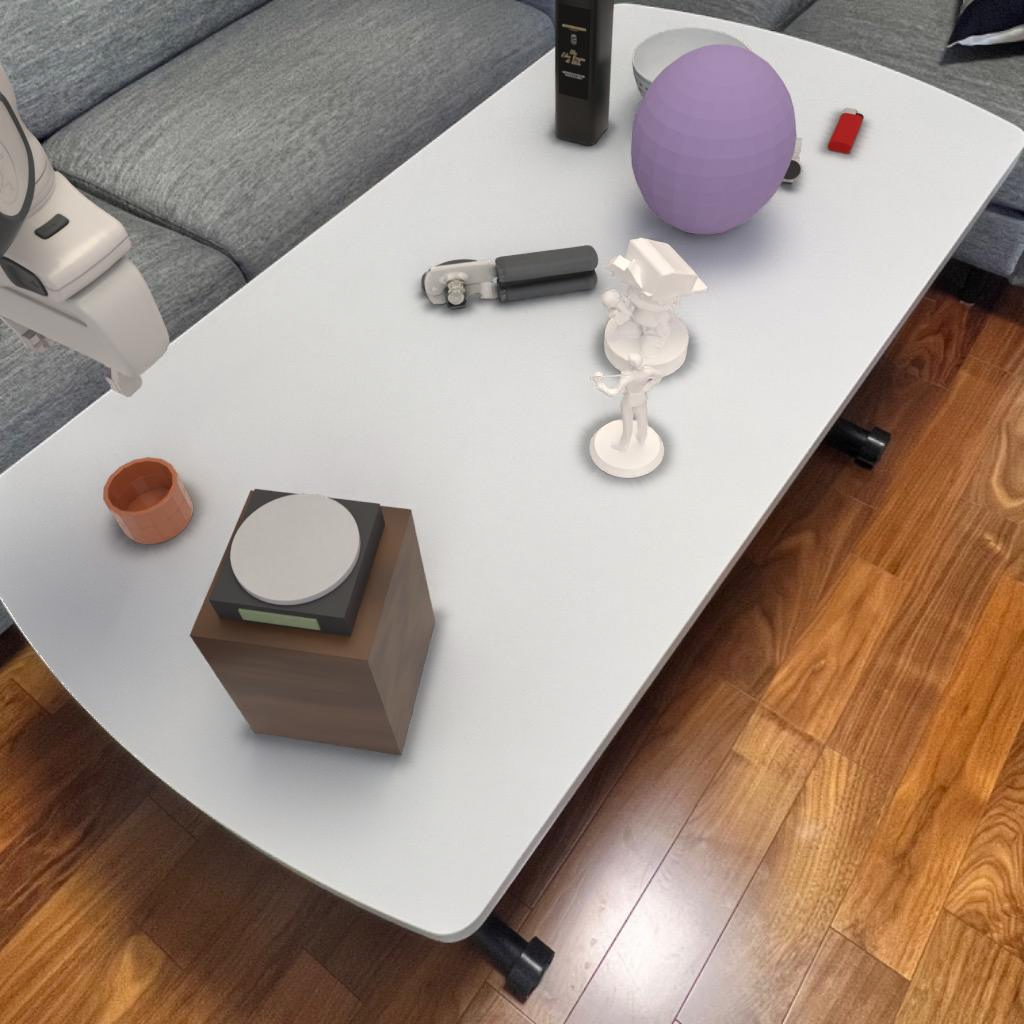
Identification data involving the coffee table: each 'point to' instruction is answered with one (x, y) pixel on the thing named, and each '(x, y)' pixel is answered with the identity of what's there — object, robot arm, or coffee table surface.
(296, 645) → the wooden block
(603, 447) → the figurine
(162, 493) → the bowl
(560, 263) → the can opener
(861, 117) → the lighter
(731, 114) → the purple ovoid
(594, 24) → the black tall square bottle
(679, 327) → the character figurine
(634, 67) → the chinaware
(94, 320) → the robot arm
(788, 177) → the wristwatch
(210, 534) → the coffee table surface
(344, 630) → the scale
